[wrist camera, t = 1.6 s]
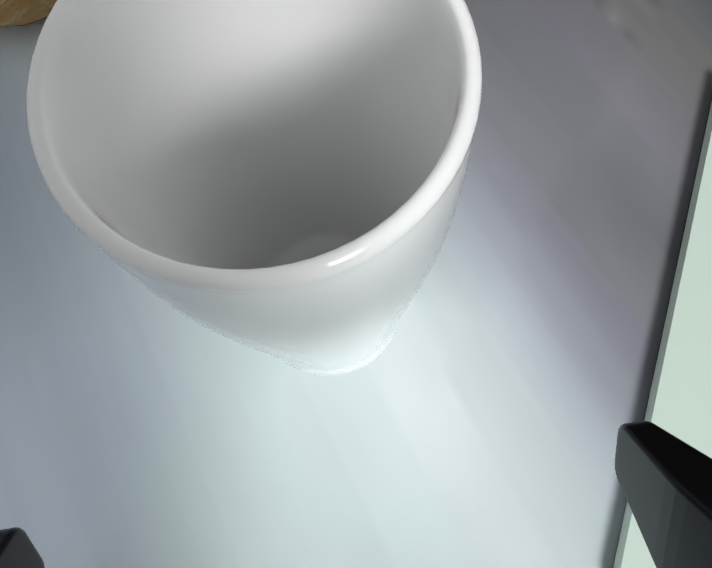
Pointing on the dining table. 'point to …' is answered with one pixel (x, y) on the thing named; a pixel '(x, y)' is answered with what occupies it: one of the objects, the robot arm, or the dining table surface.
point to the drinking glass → (263, 156)
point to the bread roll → (23, 11)
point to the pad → (683, 349)
